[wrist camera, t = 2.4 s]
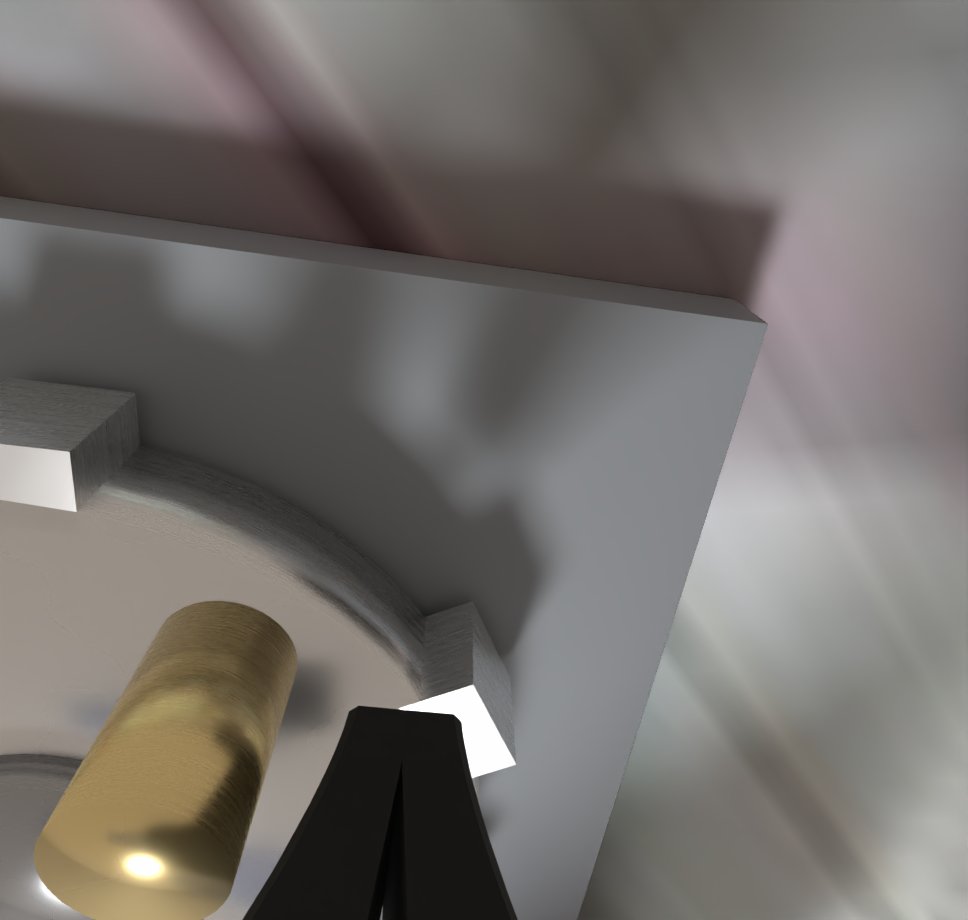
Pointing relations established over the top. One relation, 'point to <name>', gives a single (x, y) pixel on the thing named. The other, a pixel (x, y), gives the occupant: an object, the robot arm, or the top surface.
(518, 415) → the base plate
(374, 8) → the top surface
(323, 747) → the lugged metal disc
